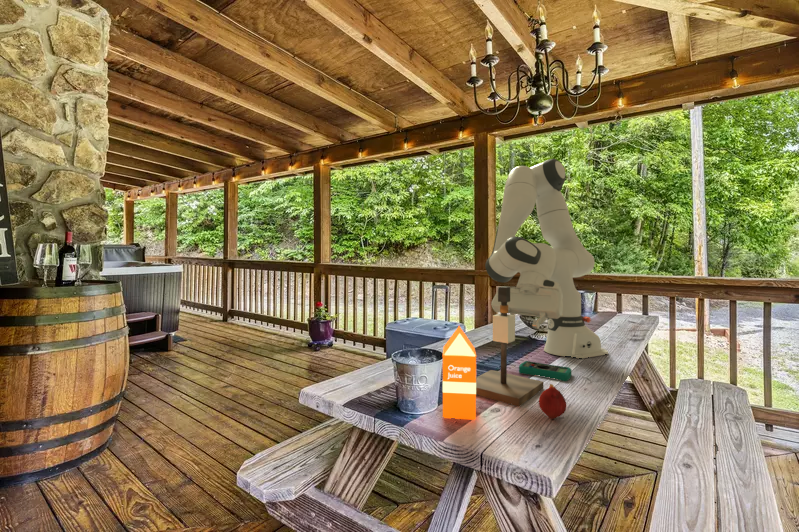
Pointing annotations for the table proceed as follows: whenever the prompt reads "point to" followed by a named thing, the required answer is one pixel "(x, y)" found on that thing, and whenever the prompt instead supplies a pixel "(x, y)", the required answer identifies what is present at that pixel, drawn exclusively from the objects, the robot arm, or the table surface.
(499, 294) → the rod stand
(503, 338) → the small beige block
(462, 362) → the orange juice
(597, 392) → the table surface
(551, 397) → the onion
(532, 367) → the digital multimeter
